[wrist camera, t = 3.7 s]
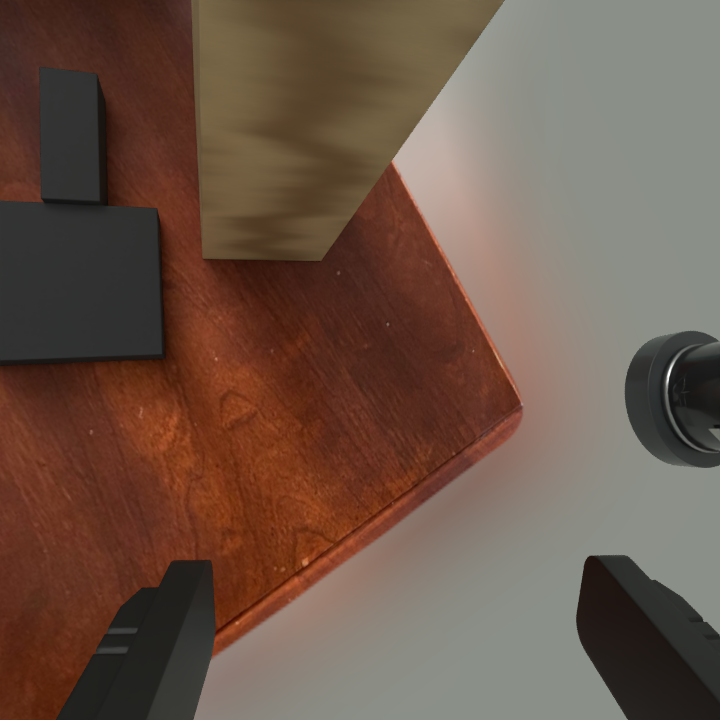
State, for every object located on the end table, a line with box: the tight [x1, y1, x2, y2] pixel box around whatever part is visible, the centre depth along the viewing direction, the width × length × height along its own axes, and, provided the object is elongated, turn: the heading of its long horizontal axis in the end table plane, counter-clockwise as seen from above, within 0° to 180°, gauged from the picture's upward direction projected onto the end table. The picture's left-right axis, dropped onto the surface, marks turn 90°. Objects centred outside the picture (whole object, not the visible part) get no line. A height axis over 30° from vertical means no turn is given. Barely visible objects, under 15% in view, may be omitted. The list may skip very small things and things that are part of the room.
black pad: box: [0, 67, 165, 366], centre depth 29 cm, size 9×17×2 cm, turn 5°
